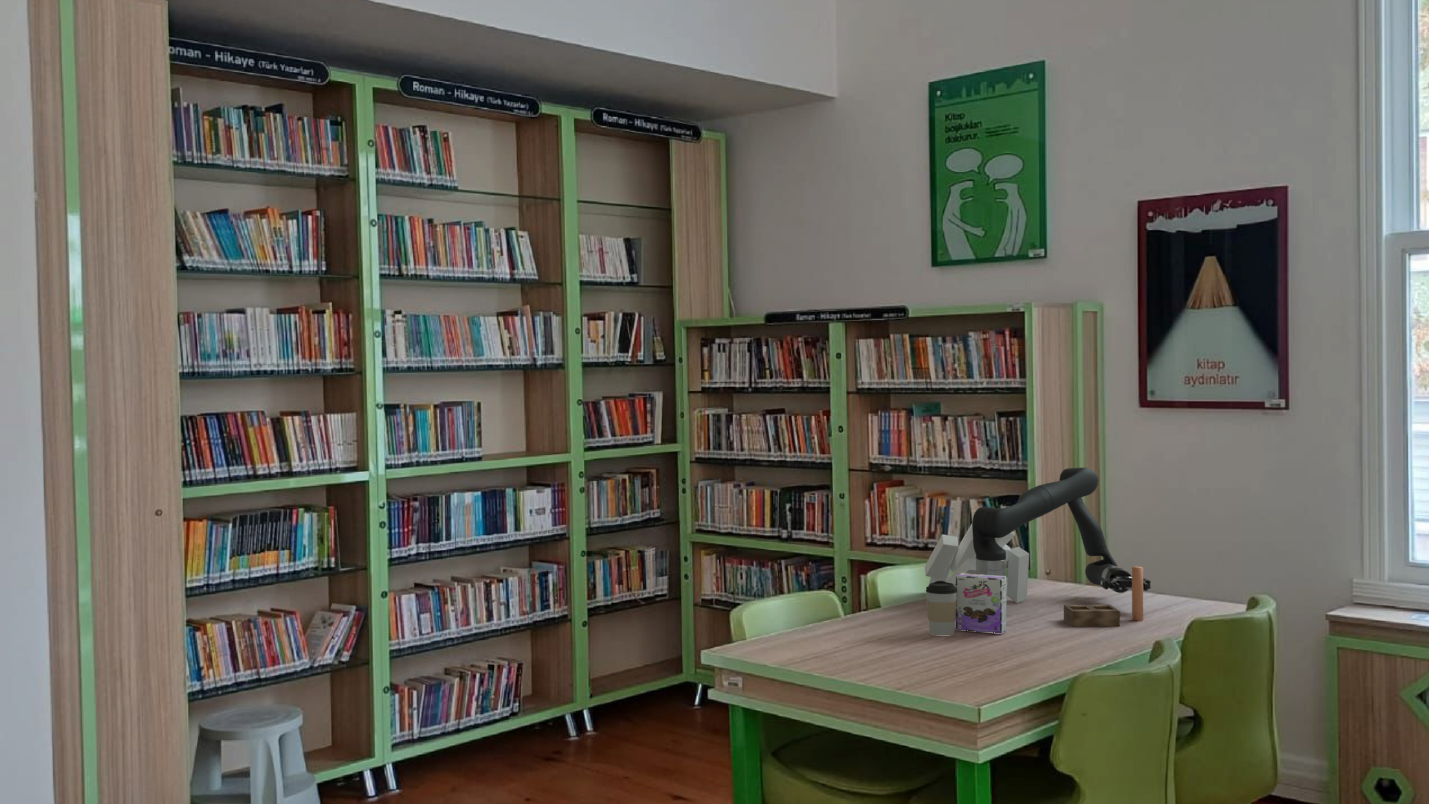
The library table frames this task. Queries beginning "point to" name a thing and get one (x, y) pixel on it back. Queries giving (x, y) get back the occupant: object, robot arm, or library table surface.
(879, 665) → the library table surface
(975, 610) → the candy box
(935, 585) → the coffee cup
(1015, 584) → the pile of blocks
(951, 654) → the library table surface
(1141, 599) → the peg
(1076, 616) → the hole block
